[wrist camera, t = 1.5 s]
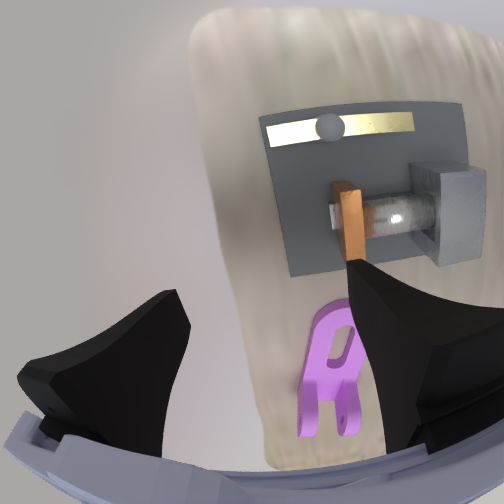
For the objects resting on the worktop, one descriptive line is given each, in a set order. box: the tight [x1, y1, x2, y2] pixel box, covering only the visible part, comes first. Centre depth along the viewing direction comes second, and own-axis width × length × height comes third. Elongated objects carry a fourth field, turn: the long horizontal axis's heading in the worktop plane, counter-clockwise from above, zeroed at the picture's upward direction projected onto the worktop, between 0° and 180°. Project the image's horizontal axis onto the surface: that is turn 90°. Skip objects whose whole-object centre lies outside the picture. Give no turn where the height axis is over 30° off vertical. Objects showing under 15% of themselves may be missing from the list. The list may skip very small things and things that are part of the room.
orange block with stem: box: [332, 181, 436, 267], centre depth 16 cm, size 7×5×3 cm
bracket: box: [297, 299, 366, 437], centre depth 22 cm, size 13×6×7 cm, turn 179°
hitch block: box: [328, 160, 486, 267], centre depth 16 cm, size 12×6×5 cm, turn 103°
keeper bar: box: [267, 112, 415, 147], centre depth 14 cm, size 9×1×2 cm, turn 102°
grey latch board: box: [259, 102, 469, 277], centre depth 16 cm, size 16×12×4 cm
